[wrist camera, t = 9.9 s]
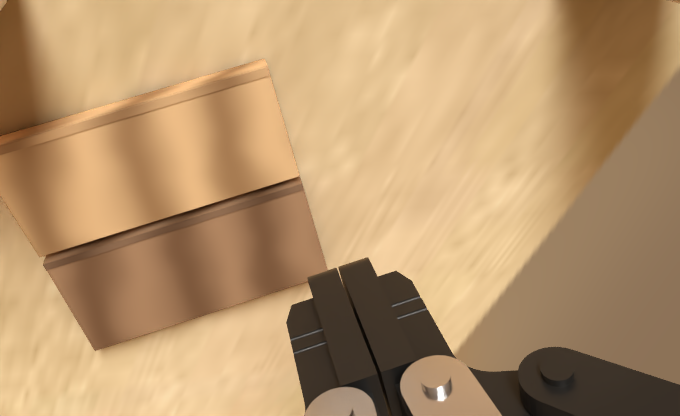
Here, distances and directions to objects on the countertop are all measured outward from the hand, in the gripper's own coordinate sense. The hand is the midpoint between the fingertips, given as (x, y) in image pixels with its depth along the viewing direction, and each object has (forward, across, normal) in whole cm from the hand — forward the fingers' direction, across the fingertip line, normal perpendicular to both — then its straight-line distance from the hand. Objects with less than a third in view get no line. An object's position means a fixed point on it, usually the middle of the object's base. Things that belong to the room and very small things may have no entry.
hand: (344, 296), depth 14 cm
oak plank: (+32, +9, +7) cm, 34 cm away
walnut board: (+32, +9, +17) cm, 37 cm away
